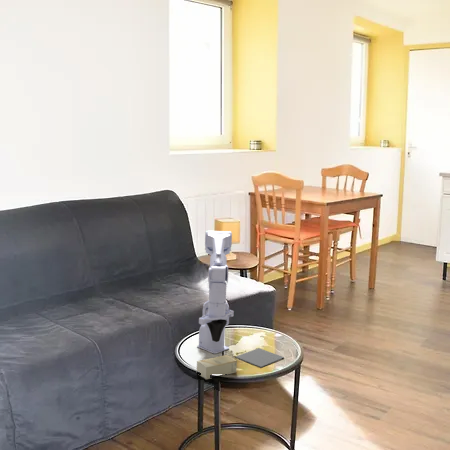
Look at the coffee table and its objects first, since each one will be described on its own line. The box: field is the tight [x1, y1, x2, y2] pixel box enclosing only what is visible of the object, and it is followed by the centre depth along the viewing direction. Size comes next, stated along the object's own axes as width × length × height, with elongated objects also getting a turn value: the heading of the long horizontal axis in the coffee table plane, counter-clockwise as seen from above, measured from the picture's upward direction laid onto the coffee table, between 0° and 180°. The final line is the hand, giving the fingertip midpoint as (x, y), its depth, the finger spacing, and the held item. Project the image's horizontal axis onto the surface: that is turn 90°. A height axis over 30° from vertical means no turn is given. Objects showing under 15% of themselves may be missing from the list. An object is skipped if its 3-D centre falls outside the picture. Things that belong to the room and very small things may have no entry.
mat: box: [234, 347, 285, 369], centre depth 206 cm, size 12×13×1 cm
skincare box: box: [196, 354, 238, 380], centre depth 191 cm, size 6×4×12 cm
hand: (215, 340), depth 192 cm, fingers closed
